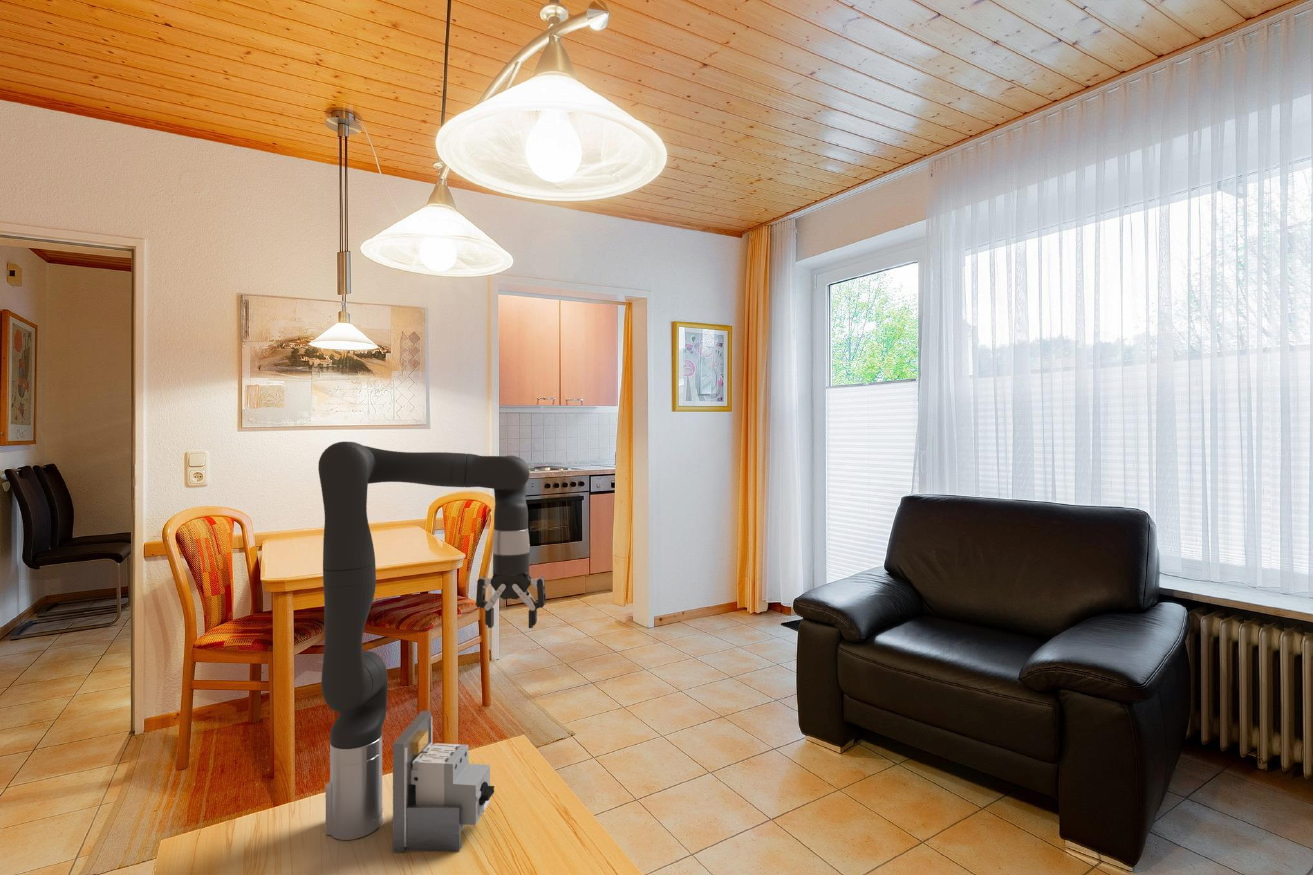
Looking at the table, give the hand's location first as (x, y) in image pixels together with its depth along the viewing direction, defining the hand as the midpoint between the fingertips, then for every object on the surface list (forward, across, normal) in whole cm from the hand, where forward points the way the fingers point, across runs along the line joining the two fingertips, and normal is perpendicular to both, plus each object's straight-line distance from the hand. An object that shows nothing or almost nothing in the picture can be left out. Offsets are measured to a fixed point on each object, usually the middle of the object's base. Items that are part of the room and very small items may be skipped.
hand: (511, 627), depth 135 cm
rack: (+36, -12, -11) cm, 40 cm away
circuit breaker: (+36, -8, -12) cm, 39 cm away
